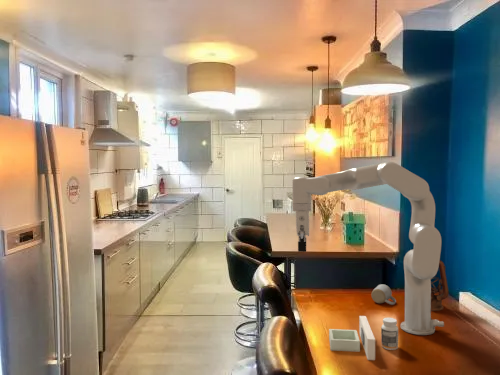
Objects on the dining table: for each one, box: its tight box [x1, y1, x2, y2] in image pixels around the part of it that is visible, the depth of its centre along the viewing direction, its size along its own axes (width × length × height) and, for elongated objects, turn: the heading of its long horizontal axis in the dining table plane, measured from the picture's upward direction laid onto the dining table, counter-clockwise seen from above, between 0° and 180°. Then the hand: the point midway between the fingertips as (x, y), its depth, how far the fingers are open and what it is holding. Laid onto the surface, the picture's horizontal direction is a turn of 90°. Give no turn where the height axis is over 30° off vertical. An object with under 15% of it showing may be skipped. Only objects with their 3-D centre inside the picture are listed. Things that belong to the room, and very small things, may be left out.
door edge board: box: [358, 315, 376, 361], centre depth 148 cm, size 3×22×7 cm, turn 172°
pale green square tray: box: [328, 328, 361, 353], centre depth 149 cm, size 10×10×4 cm
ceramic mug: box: [370, 283, 397, 306], centre depth 196 cm, size 11×8×8 cm
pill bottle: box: [380, 317, 399, 351], centre depth 146 cm, size 6×6×10 cm
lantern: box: [431, 259, 450, 312], centre depth 189 cm, size 17×13×30 cm
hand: (302, 249), depth 167 cm, fingers open, 9 cm apart
